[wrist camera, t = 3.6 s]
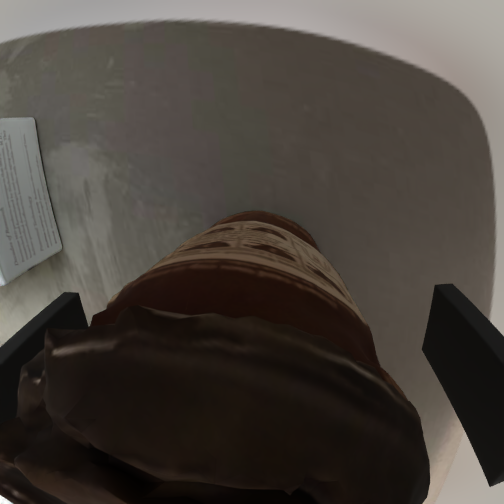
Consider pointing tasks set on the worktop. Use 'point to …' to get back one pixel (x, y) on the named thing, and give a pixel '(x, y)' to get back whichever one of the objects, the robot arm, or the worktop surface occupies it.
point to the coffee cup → (217, 388)
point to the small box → (23, 201)
